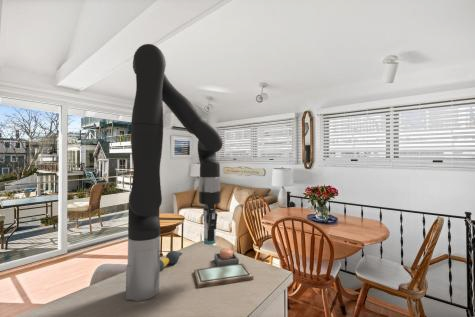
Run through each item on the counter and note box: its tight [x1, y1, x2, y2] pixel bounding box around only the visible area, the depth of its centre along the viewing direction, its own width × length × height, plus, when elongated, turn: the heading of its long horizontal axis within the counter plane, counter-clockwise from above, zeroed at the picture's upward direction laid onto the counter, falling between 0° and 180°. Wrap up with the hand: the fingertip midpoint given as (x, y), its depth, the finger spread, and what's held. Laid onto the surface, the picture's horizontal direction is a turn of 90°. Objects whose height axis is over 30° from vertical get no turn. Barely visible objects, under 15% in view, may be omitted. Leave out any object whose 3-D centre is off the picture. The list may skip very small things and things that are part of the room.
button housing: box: [213, 251, 240, 267], centre depth 94 cm, size 8×8×2 cm
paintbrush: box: [160, 250, 183, 271], centre depth 88 cm, size 20×5×5 cm, turn 156°
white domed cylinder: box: [203, 220, 216, 246], centre depth 82 cm, size 4×4×8 cm
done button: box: [219, 248, 234, 260], centre depth 94 cm, size 5×5×3 cm
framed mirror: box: [193, 263, 255, 289], centre depth 83 cm, size 19×11×1 cm, turn 108°
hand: (209, 238), depth 82 cm, fingers closed on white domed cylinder, 4 cm apart
